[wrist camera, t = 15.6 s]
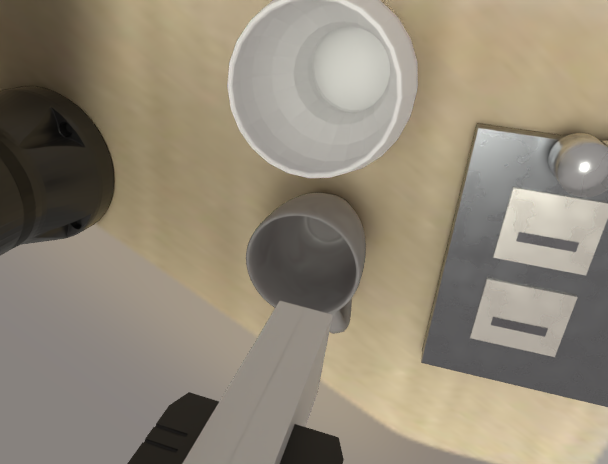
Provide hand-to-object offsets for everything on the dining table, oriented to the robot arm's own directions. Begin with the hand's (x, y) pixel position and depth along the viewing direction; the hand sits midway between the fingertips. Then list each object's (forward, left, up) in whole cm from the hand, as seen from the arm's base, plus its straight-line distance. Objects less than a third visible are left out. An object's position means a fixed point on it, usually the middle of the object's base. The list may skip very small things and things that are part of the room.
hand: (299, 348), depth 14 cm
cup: (-4, +5, -30) cm, 31 cm away
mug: (-4, -10, -30) cm, 32 cm away
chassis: (+15, -9, -30) cm, 35 cm away
